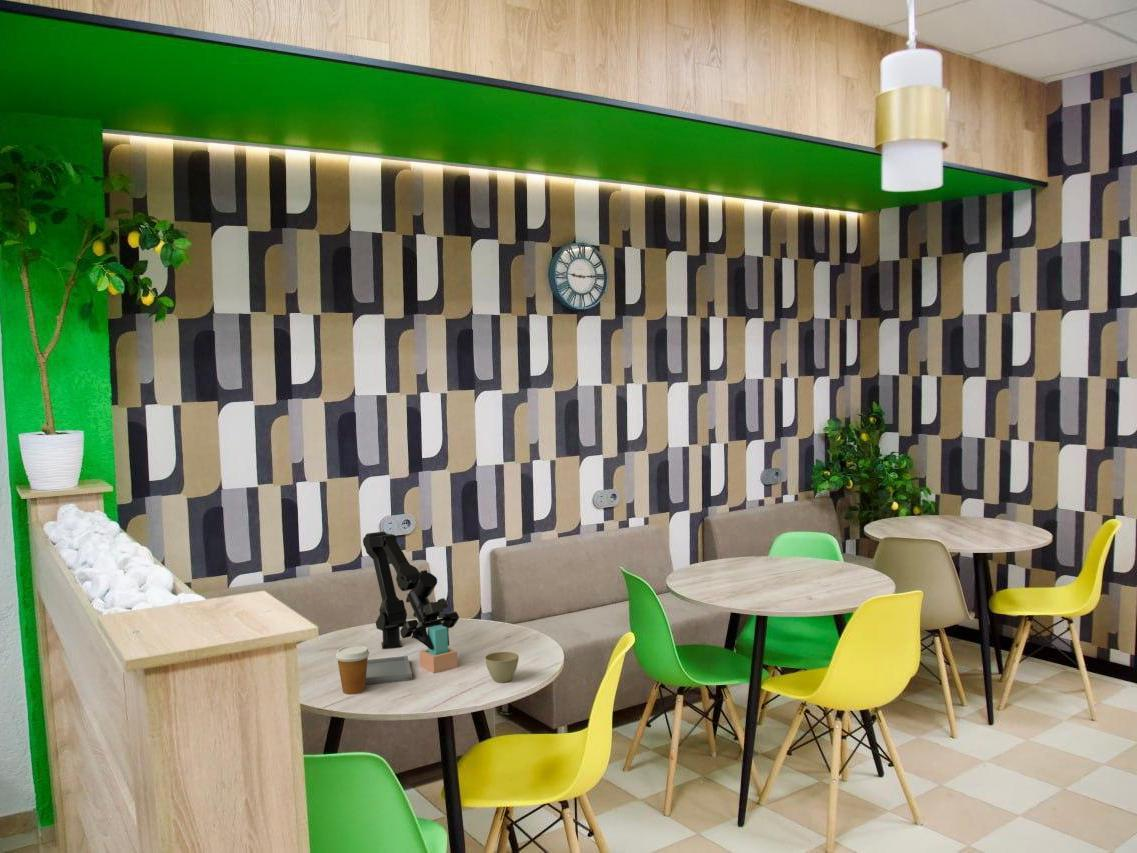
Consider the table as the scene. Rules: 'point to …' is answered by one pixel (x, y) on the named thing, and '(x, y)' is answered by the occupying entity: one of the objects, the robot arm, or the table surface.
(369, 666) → the tray
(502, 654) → the flower pot
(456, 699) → the table surface
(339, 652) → the disposable coffee cup
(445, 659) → the holder
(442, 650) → the teal block
